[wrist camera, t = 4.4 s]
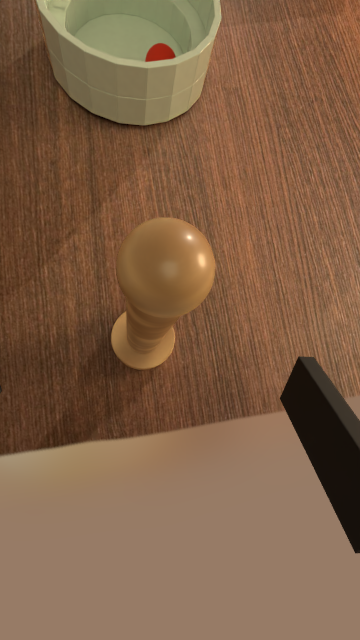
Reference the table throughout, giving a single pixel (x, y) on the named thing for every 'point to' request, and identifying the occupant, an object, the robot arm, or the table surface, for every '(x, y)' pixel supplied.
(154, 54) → the tomato
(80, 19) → the bowl
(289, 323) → the table surface
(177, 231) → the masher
